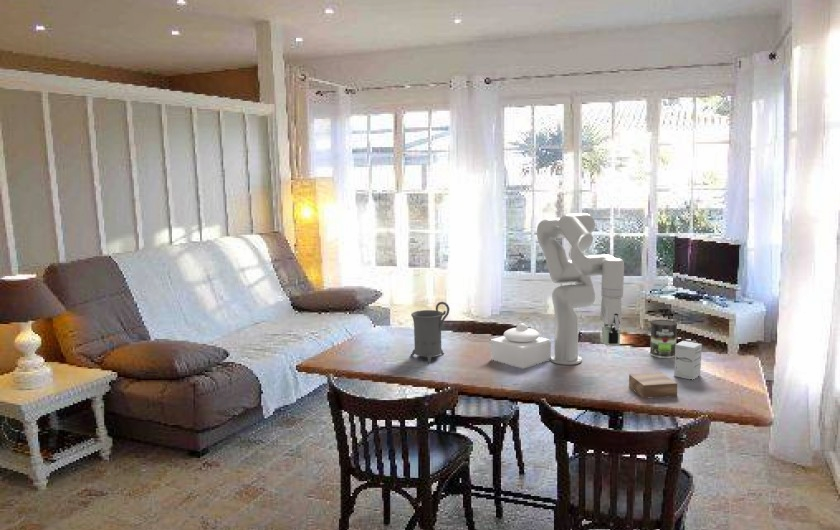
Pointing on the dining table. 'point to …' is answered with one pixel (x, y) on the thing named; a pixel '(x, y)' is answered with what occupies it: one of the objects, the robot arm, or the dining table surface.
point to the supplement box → (687, 360)
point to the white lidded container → (521, 347)
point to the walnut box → (653, 385)
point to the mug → (428, 331)
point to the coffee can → (663, 338)
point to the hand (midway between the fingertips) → (610, 340)
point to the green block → (606, 336)
